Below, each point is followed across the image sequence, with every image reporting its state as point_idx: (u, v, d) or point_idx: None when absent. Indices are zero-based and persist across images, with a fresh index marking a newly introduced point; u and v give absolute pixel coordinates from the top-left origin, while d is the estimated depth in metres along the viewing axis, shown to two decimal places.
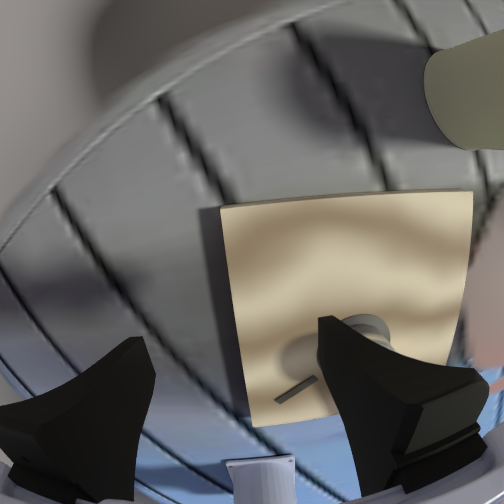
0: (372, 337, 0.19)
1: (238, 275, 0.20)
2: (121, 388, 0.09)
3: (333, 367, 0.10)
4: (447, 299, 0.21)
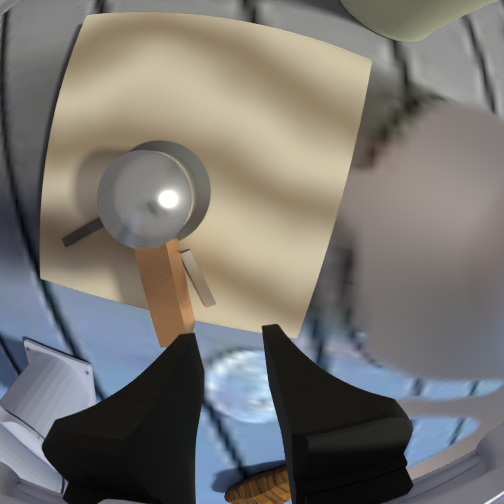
0: (164, 153, 0.14)
1: (73, 69, 0.14)
2: (182, 388, 0.09)
3: (271, 377, 0.10)
4: (314, 181, 0.17)
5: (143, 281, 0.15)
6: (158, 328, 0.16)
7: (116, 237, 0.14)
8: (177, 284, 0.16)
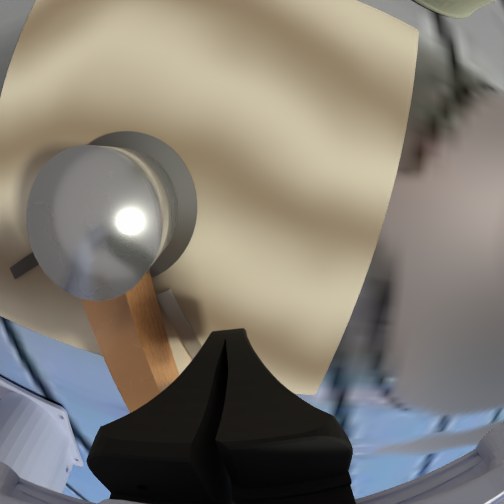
0: (122, 149, 0.09)
1: (22, 46, 0.08)
2: (222, 386, 0.09)
3: None
4: (349, 190, 0.12)
5: (100, 343, 0.09)
6: (128, 401, 0.10)
7: (56, 281, 0.08)
8: (149, 347, 0.10)
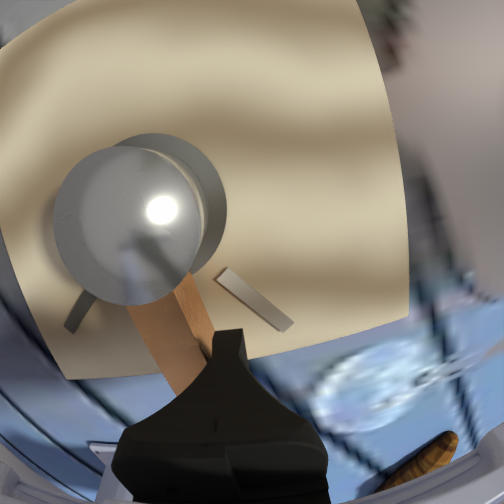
0: (144, 148, 0.09)
1: None
2: None
3: None
4: (348, 102, 0.11)
5: (151, 349, 0.10)
6: None
7: (96, 292, 0.09)
8: (203, 343, 0.10)
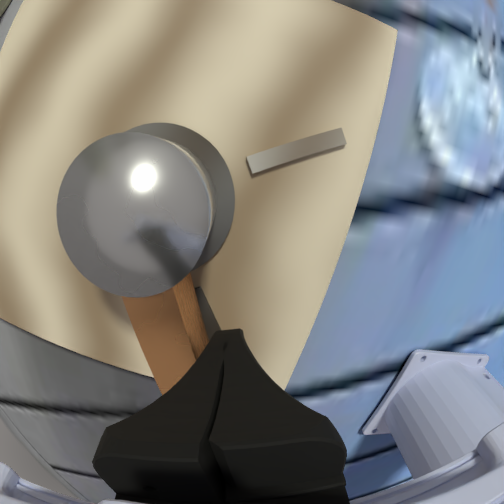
0: None
1: (21, 320, 0.13)
2: None
3: None
4: None
5: (142, 343, 0.09)
6: None
7: (93, 279, 0.09)
8: (194, 343, 0.10)
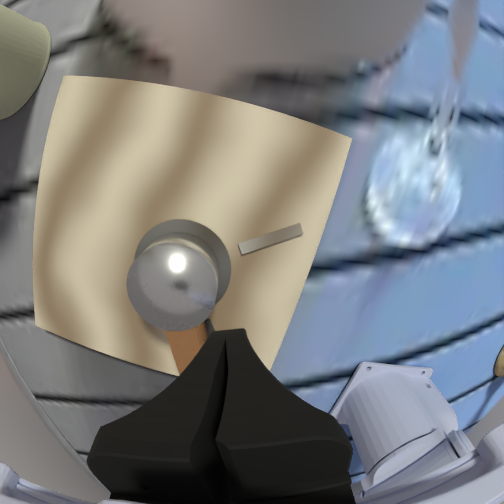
0: (188, 242, 0.16)
1: (77, 337, 0.20)
2: (222, 386, 0.09)
3: None
4: (174, 118, 0.16)
5: (174, 355, 0.17)
6: None
7: (148, 320, 0.16)
8: None
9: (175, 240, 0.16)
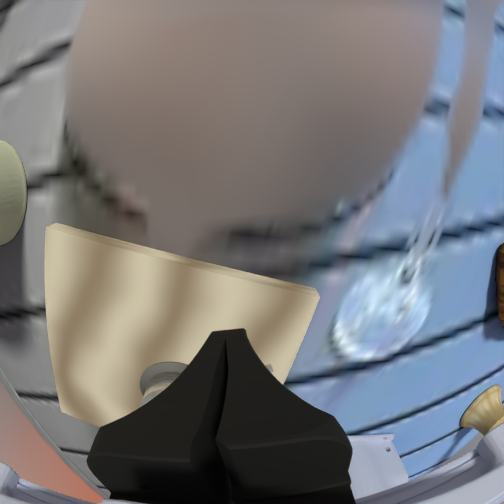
0: None
1: (98, 423, 0.23)
2: (222, 386, 0.09)
3: None
4: (156, 286, 0.19)
5: None
6: None
7: None
8: None
9: None
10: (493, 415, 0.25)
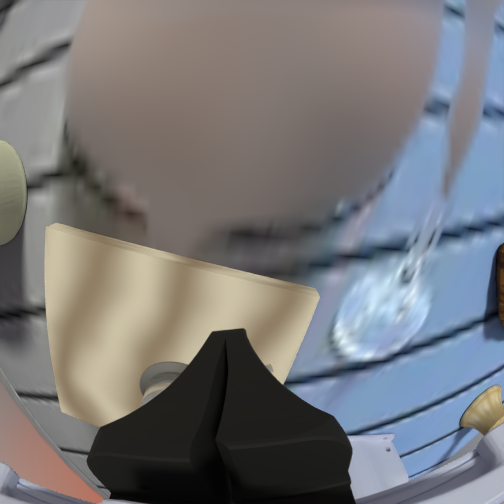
0: None
1: (98, 423, 0.23)
2: (222, 386, 0.09)
3: None
4: (156, 286, 0.19)
5: None
6: None
7: None
8: None
9: None
10: (493, 415, 0.25)
